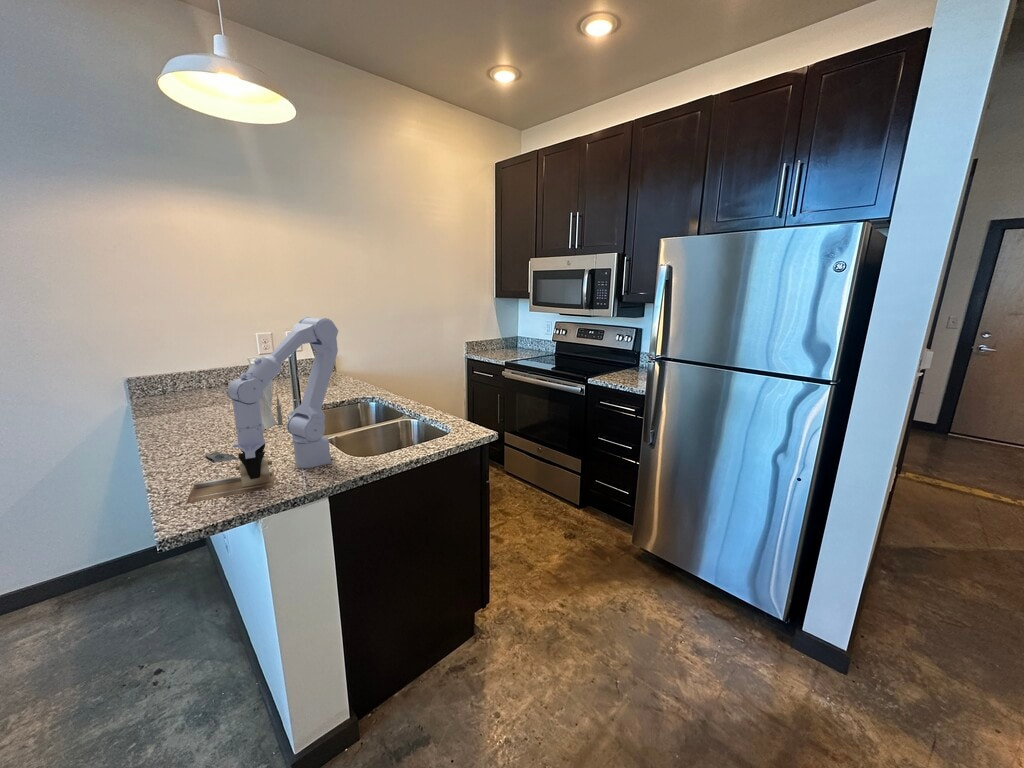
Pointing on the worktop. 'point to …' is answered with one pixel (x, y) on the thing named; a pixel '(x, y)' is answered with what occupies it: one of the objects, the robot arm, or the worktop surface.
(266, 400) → the skyscraper
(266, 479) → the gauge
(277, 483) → the worktop surface
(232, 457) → the driftwood
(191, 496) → the board
